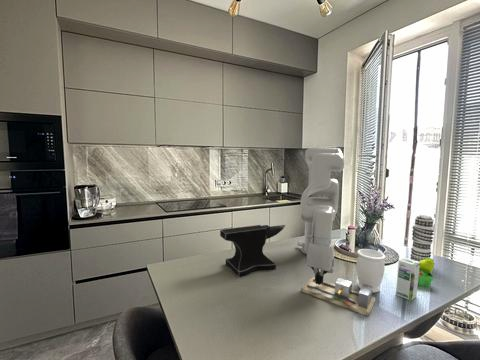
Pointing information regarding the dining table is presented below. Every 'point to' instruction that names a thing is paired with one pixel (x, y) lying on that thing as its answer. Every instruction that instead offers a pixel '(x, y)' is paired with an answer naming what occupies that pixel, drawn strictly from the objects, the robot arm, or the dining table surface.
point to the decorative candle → (422, 238)
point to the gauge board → (336, 299)
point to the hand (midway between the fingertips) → (318, 283)
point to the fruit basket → (425, 272)
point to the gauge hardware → (364, 294)
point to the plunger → (343, 288)
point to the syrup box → (407, 278)
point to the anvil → (250, 248)
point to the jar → (370, 268)
